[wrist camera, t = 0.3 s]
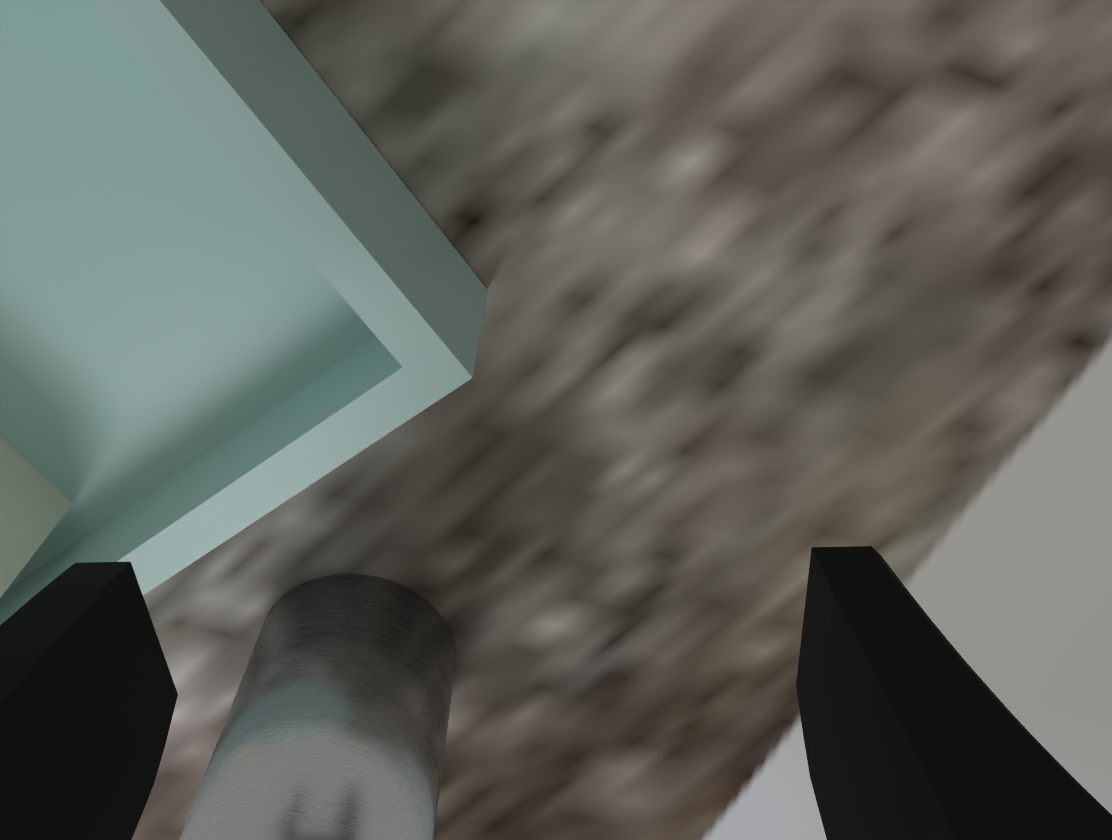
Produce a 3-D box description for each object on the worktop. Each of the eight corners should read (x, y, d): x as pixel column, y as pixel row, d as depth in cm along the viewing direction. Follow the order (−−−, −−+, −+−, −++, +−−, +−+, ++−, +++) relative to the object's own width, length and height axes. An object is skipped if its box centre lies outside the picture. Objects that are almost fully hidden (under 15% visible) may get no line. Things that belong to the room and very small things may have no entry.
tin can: (348, 754, 26) (283, 1027, 20) (219, 635, 25) (104, 895, 18) (495, 671, 25) (473, 936, 19) (370, 540, 23) (301, 784, 17)
